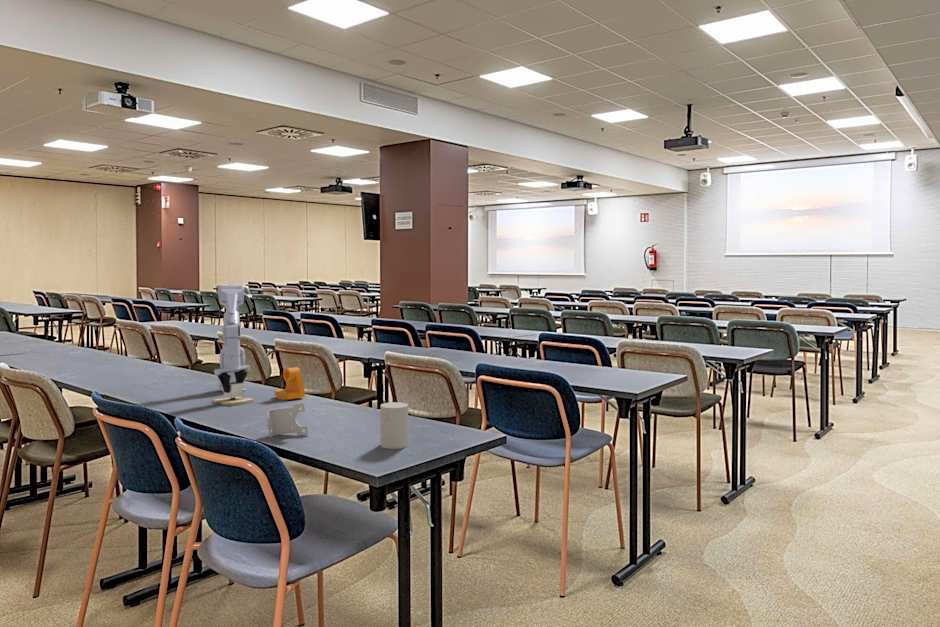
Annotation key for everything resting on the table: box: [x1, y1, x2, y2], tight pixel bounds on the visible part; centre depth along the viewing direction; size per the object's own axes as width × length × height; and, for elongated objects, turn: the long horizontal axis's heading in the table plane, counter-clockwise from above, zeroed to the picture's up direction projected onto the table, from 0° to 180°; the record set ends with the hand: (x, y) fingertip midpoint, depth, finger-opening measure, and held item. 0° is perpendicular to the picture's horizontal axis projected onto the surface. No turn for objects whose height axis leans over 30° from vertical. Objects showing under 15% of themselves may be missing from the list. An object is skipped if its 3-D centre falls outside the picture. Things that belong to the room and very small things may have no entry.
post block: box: [211, 396, 255, 407], centre depth 267 cm, size 12×10×6 cm
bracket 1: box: [274, 366, 306, 401], centre depth 275 cm, size 11×7×12 cm, turn 46°
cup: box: [380, 401, 409, 450], centre depth 207 cm, size 8×8×12 cm
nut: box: [223, 382, 244, 398], centre depth 266 cm, size 5×5×5 cm
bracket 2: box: [265, 402, 310, 438], centre depth 216 cm, size 11×4×10 cm, turn 82°
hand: (232, 391), depth 266 cm, fingers closed on nut, 5 cm apart
